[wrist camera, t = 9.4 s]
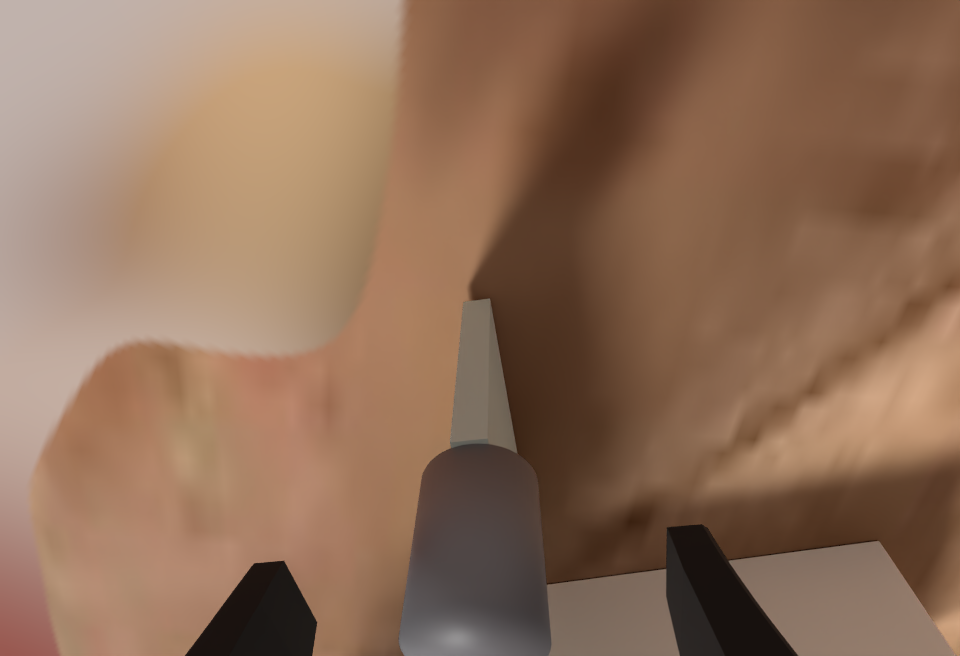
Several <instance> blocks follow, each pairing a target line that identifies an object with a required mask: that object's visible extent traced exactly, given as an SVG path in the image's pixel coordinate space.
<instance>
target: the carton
mask: <svg viewBox="0 0 960 656" xmlns="http://www.w3.org/2000/svg"><path fill="white" fill-rule="evenodd" d="M729 563H730V564H731V566H732V567H733V569H734V570H735V571H736V573H737V574H738V576H739V577H740V579H741V580H742V582H743V583H744V584H745V586H746V587H747V589H748V590H749V591H750V593H751V594H752V596H753V597H754V598H755V600H756V601H757V603H758V604H759V605H760V607H761V608H762V609H763V611H764V612H765V613H766V615H767V616H768V617H769V619H770V620H771V621H772V623H773V624H774V625H775V626H776V628H777V629H778V630H779V632H780V633H781V634H782V635H783V637H784V638H785V639H786V641H787V642H788V643H789V644H790V646H791V647H792V648H793V650H794V651H795V652H796V653H797V655H798V656H956V654H955V653H954V651H953V650H952V649H951V647H950V646H949V644H948V643H947V641H946V640H945V638H944V637H943V635H942V634H941V632H940V631H939V629H938V628H937V626H936V625H935V623H934V622H933V620H932V619H931V617H930V616H929V614H928V613H927V611H926V610H925V608H924V607H923V605H922V604H921V602H920V601H919V599H918V598H917V596H916V595H915V593H914V592H913V590H912V589H911V588H910V586H909V585H908V583H907V582H906V580H905V579H904V577H903V576H902V574H901V573H900V571H899V570H898V568H897V567H896V565H895V564H894V562H893V561H892V559H891V558H890V556H889V555H888V553H887V552H886V550H885V549H884V547H883V546H882V544H881V543H880V541H874V542H866V543H859V544H851V545H843V546H836V547H828V548H821V549H813V550H806V551H798V552H791V553H783V554H775V555H768V556H760V557H753V558H745V559H738V560H730V561H729ZM547 594H548V606H549V618H550V630H551V643H552V645H551V650H550V653H549V655H548V656H680V654H679V650H678V646H677V642H676V638H675V633H674V629H673V625H672V620H671V616H670V611H669V607H668V603H667V598H666V569H662V570H654V571H647V572H639V573H632V574H624V575H617V576H609V577H601V578H594V579H586V580H579V581H571V582H564V583H556V584H549V585H547Z"/></svg>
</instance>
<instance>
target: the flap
mask: <svg viewBox="0 0 960 656" xmlns="http://www.w3.org/2000/svg"><path fill="white" fill-rule="evenodd" d="M450 444H451V449H448V450H446V451H444V452H442V453H440V454H439V455H438V456H436V457H435V458H434V459H433V460H432V461H431V462H430V463H429V464H428V465H427V467H426V468H425V470H424V472H423V475H422V480H421V487H420V494H419V501H418V508H417V515H416V521H415V528H414V535H413V542H412V549H411V556H410V563H409V570H408V577H407V584H406V591H405V598H404V605H403V611H402V618H401V625H400V632H399V645H400V649H401V651H402V653H403V654H404V656H548V655H549V653H550V650H551V645H552V643H551V630H550V618H549V606H548V594H547V582H546V570H545V558H544V546H543V534H542V522H541V510H540V498H539V486H538V479H537V475H536V473H535V471H534V469H533V468H532V466H531V465H530V464H529V463H528V462H527V461H526V460H525V459H524V458H523V457H522V456H520V455H518V454H517V448H516V442H515V437H514V431H513V426H512V420H511V414H510V409H509V403H508V397H507V392H506V386H505V381H504V375H503V369H502V364H501V358H500V352H499V347H498V341H497V335H496V330H495V324H494V319H493V313H492V307H491V302H490V299H482V300H475V301H467V302H463V312H462V323H461V333H460V343H459V354H458V364H457V375H456V385H455V396H454V406H453V417H452V427H451V438H450Z"/></svg>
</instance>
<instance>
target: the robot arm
mask: <svg viewBox="0 0 960 656" xmlns="http://www.w3.org/2000/svg"><path fill="white" fill-rule="evenodd" d="M666 598H667V603H668V607H669V611H670V616H671V620H672V625H673V629H674V633H675V638H676V642H677V646H678V650H679V654H680V656H798V655H797V653H796V652H795V651H794V650H793V648H792V647H791V646H790V644H789V643H788V642H787V641H786V639H785V638H784V637H783V635H782V634H781V633H780V632H779V630H778V629H777V628H776V626H775V625H774V624H773V623H772V621H771V620H770V619H769V617H768V616H767V615H766V613H765V612H764V611H763V609H762V608H761V607H760V605H759V604H758V603H757V601H756V600H755V598H754V597H753V596H752V594H751V593H750V591H749V590H748V589H747V587H746V586H745V584H744V583H743V582H742V580H741V579H740V577H739V576H738V574H737V573H736V571H735V570H734V569H733V567H732V566H731V564H730V563H729V561H728V560H727V558H726V557H725V555H724V554H723V552H722V550H721V549H720V547H719V546H718V544H717V543H716V541H715V539H714V538H713V536H712V534H711V533H710V531H709V529H708V528H707V527H705V526H704V525H702V524H701V525H689V526H678V527H667V557H666ZM316 626H317V621H316V619H315V618H314V616H313V614H312V612H311V610H310V608H309V606H308V605H307V603H306V601H305V599H304V597H303V595H302V593H301V592H300V590H299V588H298V586H297V584H296V582H295V580H294V579H293V577H292V575H291V573H290V571H289V569H288V567H287V565H286V564H285V562H284V561H277V562H265V563H254V564H253V566H252V567H251V568H250V569H249V571H248V572H247V573H246V575H245V576H244V577H243V579H242V580H241V581H240V583H239V584H238V585H237V587H236V588H235V589H234V591H233V592H232V593H231V595H230V596H229V597H228V599H227V600H226V602H225V603H224V604H223V606H222V607H221V608H220V610H219V611H218V612H217V614H216V615H215V616H214V618H213V619H212V620H211V622H210V623H209V624H208V626H207V627H206V629H205V630H204V631H203V633H202V634H201V635H200V637H199V638H198V639H197V641H196V642H195V643H194V645H193V646H192V647H191V648H190V650H189V651H188V652H187V654H186V655H185V656H312V653H313V646H314V640H315V633H316Z"/></svg>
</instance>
